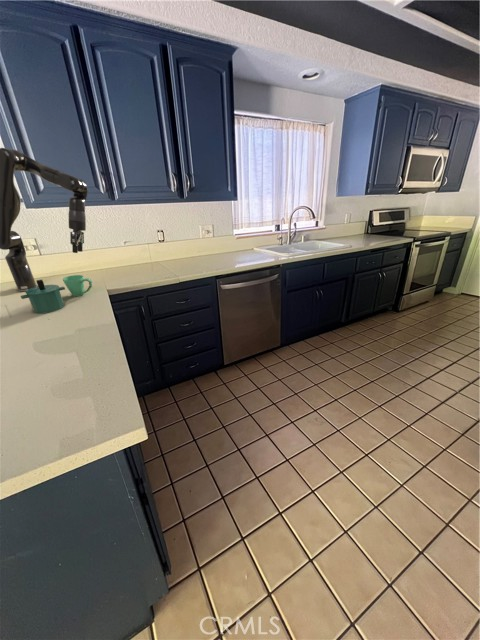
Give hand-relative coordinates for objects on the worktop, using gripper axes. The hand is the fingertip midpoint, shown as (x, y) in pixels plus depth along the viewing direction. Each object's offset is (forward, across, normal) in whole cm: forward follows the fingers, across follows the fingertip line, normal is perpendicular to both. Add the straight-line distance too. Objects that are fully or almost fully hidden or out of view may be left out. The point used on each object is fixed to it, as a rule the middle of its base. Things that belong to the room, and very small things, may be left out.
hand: (77, 252), depth 141 cm
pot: (+28, +15, -9) cm, 33 cm away
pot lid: (+19, +16, -11) cm, 27 cm away
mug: (+24, -2, +2) cm, 24 cm away
